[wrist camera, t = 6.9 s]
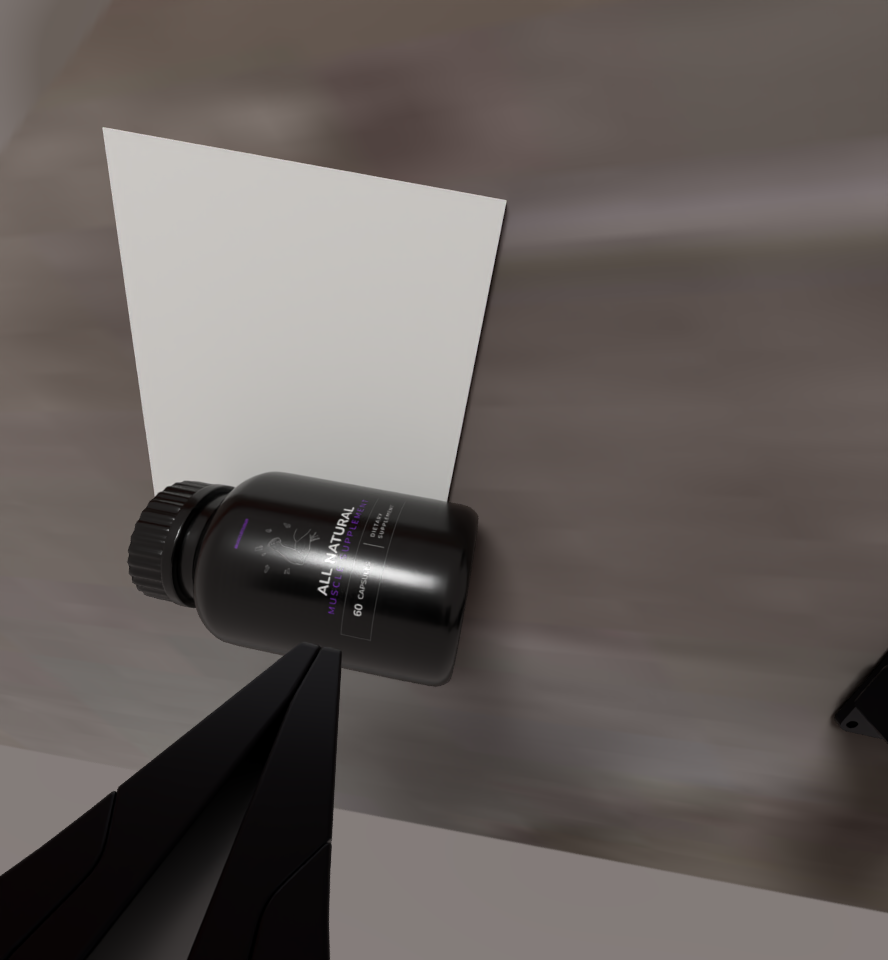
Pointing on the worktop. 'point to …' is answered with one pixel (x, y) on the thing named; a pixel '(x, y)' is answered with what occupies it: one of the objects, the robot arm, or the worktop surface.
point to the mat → (298, 315)
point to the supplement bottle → (314, 569)
